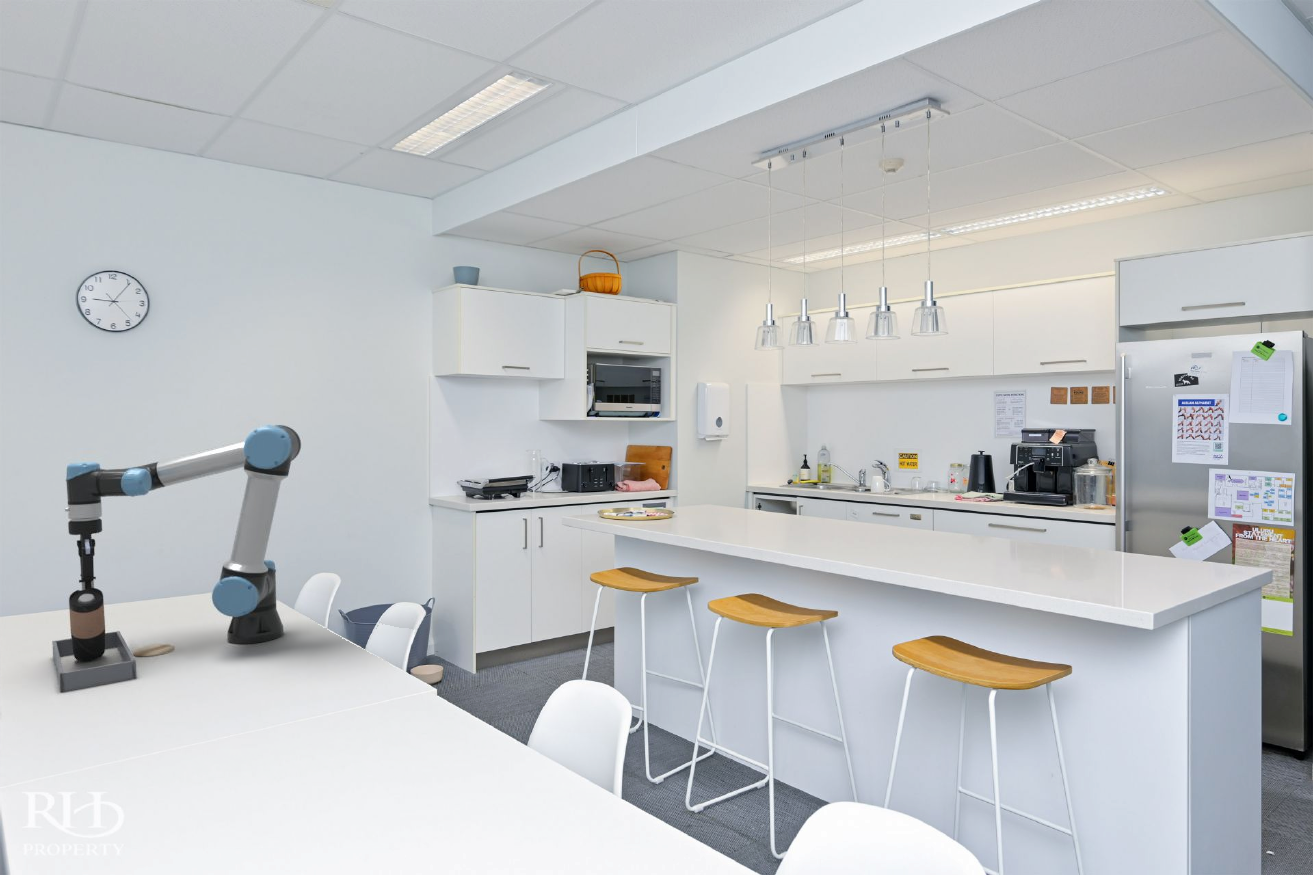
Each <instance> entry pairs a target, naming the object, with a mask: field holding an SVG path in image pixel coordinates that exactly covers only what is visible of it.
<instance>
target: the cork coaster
mask: <svg viewBox="0 0 1313 875" xmlns="http://www.w3.org/2000/svg"><path fill="white" fill-rule="evenodd" d="M174 650H175V646H174V645H172V644H156V645H154V644H153V645H148V646H145V647H144V646H143V647H141V648H138V649H136V650H134V651H132V655H133V657H136V658H148V657H149V658H151V657H157V656H162V655H167V654H168V653H171V652H173V651H174Z"/></svg>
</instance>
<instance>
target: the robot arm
mask: <svg viewBox="0 0 1313 875" xmlns="http://www.w3.org/2000/svg"><path fill="white" fill-rule="evenodd" d="M301 448H302V442H301V437H300V436H299V434H298V433H297V432H296V430H294V429H293V428H291V427H289V426H287V425H283V424H275V425H270V424H268V425H262V426H259V427H258V428H256V429H254V430H253V431H251V433H249V434H248V436H247V437H246V439H245V440H241V441H238V442H233V443H230V444H225V445H221V446H217V447H214V448H209V449H206V450H204V449H203V450H201V451H197V452H193V453H188V454H185V455H181V456H177V457H172V458H168V459H164V460H161V461H156V462H151V463H147V464H144V465H139V466H133V467H127V468H115V469H113V468H112V469H103V468H101V465H100V463H99V462H95V461H93V462H91V461H89V462H88V461H87V462H85V461H83V462H73V463H70V464H68V465H67V466H66V479H65V481H66V494H67V497H66V498H67V507H66V508H64V512H66V513H67V512H68V513H67V517H68V519H69V521H68V522H67V526H68V534H69V535H71V536H78V535H79V540H76V546H77V549H78V550H77V552H78V556H79V560H80V564H79V565H80V579H79V580H78V583H81V590H85V589H88V588H95V582H94V581H95V580H96V579H97V577H96V576H95V575H94V574H95V572H94V564H95V563H94V556H95V554H96V553H95V547H96V540H95V538H92V535H93V534H99V533H101V532H103V521H102V520H103V519H101V517H102V516H103V511H102V510H103V508H102V497H103V498H105V497H132V498H133V497H139V496H146V495H148V494H149V492H150V491H155V490H157V489H162V488H165V487H169V486H172V485H178V484H180V483H184V482H185V483H186V482H189V481H193V480H198V479H201V478H205V477H210V476H213V475H217V474H221V473H224V472H230V471H233V470H237V469H240V468H243V470H244V472H245V473H246V475H247V479H246V480H247V481H246V485H245V489H244V494H243V498H242V499H243V500H242V504H241V508H240V512H239V518H238V522H237V527H236V532H235V536H234V541H233V544H232V550H231V553H230V554H231V555H230V558H229V559H228V560H227V561H225V562H224V563H222V568H221V573H220V578H219V581H218V582H217V583H215V584H216V585H215V586H214V588H213V589H212V592H211V601H212V604H213V607H215V609H216V610H217V611H218V612H219V613H221V614H223V615H224V616H227V617H231V620H230V624H229V627H228V630H227V633H226V634H227V635H226V636H227V642H228V643H230V644H237V645H238V644H239V645H242V644H244V645H245V644H246V645H247V644H256V643H263V642H268V641H273V640H275V639H278V638H280V637H282V636H283V635H284V632H285V631H284V625H283V622H282V619H281V618H280V615H279V612H278V609H277V582H276V578H277V577H276V573H277V569H276V563H275V561H273V560H269V559H268V560H267V559H266V560H265V558H266V553H267V548H268V543H269V539H270V534H271V531H272V527H273V526H272V525H273V520H274V516H275V511H276V507H277V506H276V505H277V501H278V497H279V491H280V488H281V483H282V481H283V480H284V479H286V478H288V477H289V474H290V468H291V464H292V461H294V460H295V459H296V458H297V457H298V455H299V454H300V452H301Z"/></svg>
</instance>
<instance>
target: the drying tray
mask: <svg viewBox="0 0 1313 875" xmlns="http://www.w3.org/2000/svg"><path fill="white" fill-rule="evenodd" d="M51 645H52V658H53V663H54V667H55V673H56V676H57V677H56V678H57V682H58V685H59V686H58V687H59V691H60V693H64V692H71V691H76V690H81V689H86V688H91V687H96V686H101V685H106V684H114V683H118V682H123V681H128V680H133V679H137V660H136V659H135V656H133V652H132V651H131V650H130V648H129V646H128V645H127V642H126V640H125V638H124V636H123V635H122V633H121V631H120V630H117V631H111V632H105V650H110V649H116V648H117V650H118V653H119V654H120V656H121V658H122V660H123V662H122V661H121V662H115V663H112V664H111V663H110V664H105V665H100V666H95V667H89V668H82V669H77V670H71V671H65V672H64V667H63V663H62V661H61V660H62V659H61V657H65V656H66V657H67V656H74V654H73V646H72V638H65V639H57V640H52V644H51Z"/></svg>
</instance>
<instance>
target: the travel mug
mask: <svg viewBox="0 0 1313 875" xmlns="http://www.w3.org/2000/svg"><path fill="white" fill-rule="evenodd" d="M104 604H105V603H104V593H103V591H102V590H100V589H98V588H96V587H94V588H88V589H85V590H82V589H81V590H80V589H77V590H75V591H73V592H72V593H71V594H70V595H69V598H68V607H69V608H68V610H69V622H70V623H69V626H70V635H71V636H70V637H71V638H72V646H73V654H74V655H73V657H74V659H75V660H76V661H78V662H82V663H83V662H84V663H88V662H94V661H96V660H99V659H100V658H101V657H103V655H105V651H106V649H105V633H106V618H105V617H106V616H105V605H104Z"/></svg>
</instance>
